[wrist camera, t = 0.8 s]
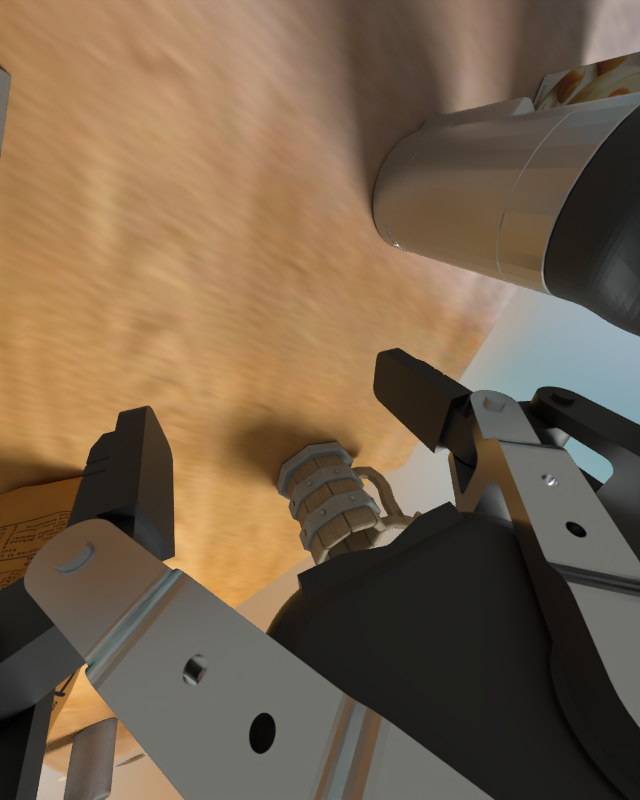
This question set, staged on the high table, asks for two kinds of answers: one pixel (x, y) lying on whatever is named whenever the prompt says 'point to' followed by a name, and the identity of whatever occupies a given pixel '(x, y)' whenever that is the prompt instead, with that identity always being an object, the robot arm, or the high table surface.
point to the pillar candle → (92, 762)
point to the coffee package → (35, 541)
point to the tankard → (336, 502)
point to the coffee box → (590, 82)
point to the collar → (3, 101)
